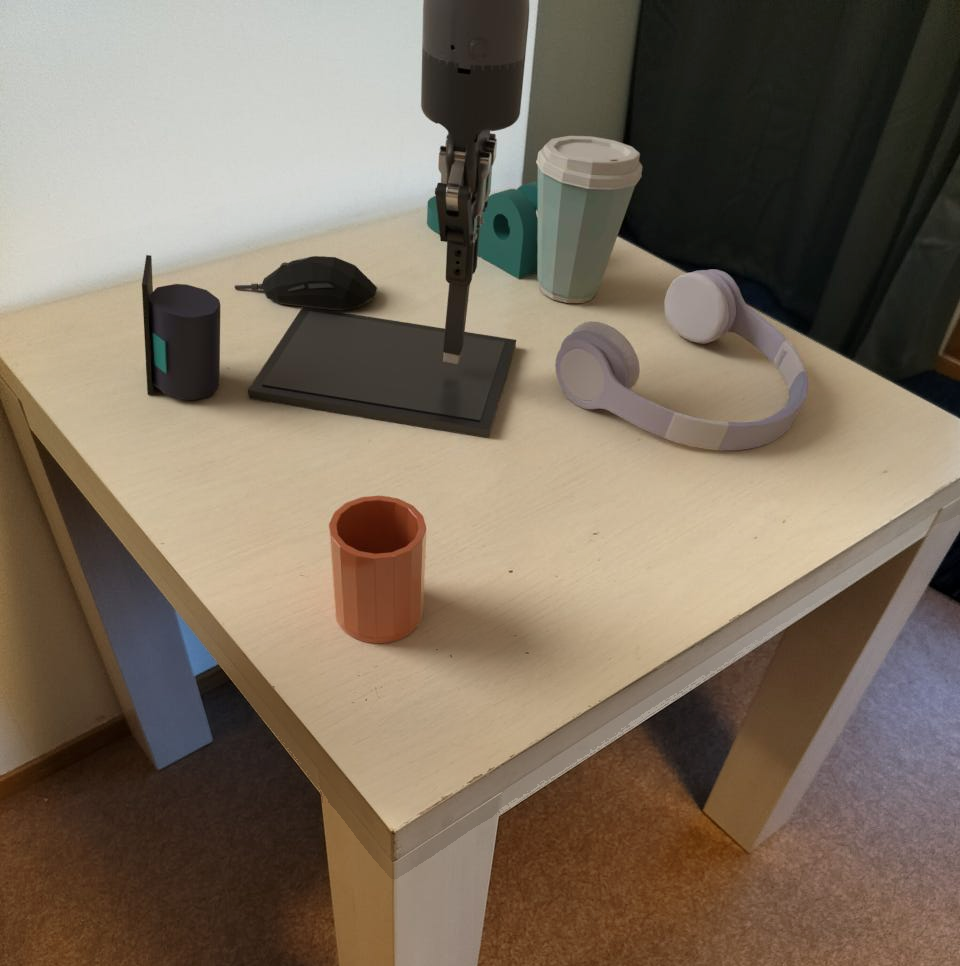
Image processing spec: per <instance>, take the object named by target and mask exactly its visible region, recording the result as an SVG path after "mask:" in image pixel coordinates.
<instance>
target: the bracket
mask: <svg viewBox="0 0 960 966" xmlns="http://www.w3.org/2000/svg"><path fill="white" fill-rule="evenodd" d="M487 201H488V206H487V208H486V210H485V212H483V218H484V222H483V224H482V226H481V228H476V229H479V244H478V257H479V258H481V259H482V260H485V261H486V262H488V263H490V264H491V265H493V266H495V267H496V268H499V269H501V270H502V271H504V272H506V273H508V274H509V275H511V276H513V277H515V278H516V279H518V280H520V279H522V278H525V277H527V276H530V275H533V274H536V273H538V214H537V213H538V180H535V181H533V182H529V183H526V184H523V185H520V186H518V187H517V188H509V189H505V190H501V191H498V192H495V193H492V194H489V197H488V199H487ZM426 209H427V210H426V212H427V213H426V225H427V227H428V228H429V229H431V231H433V232H435V233H437V234H438V235H439V234H440V230H439V221H438V212H437V203H436V195H433V196H432V197H430V198H429V199H428V200H427V207H426Z"/></svg>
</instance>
